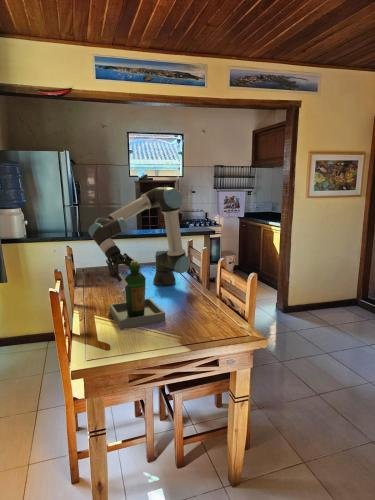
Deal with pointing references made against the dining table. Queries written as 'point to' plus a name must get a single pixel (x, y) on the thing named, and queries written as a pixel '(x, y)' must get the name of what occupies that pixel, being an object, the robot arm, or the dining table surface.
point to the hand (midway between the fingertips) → (134, 282)
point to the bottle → (135, 291)
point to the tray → (124, 321)
